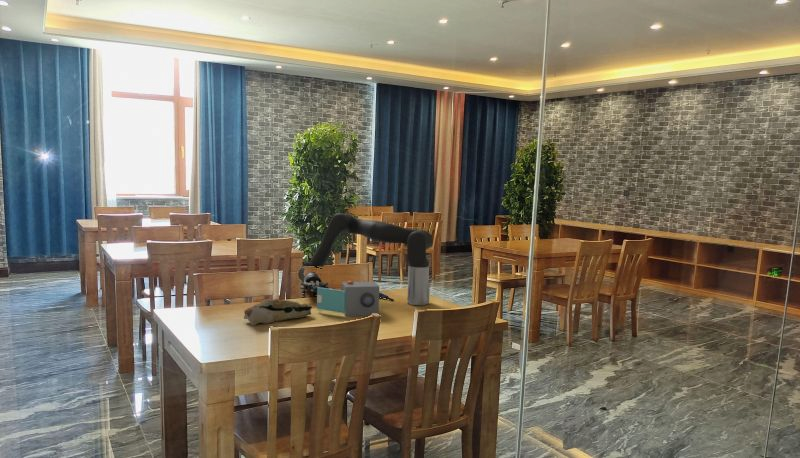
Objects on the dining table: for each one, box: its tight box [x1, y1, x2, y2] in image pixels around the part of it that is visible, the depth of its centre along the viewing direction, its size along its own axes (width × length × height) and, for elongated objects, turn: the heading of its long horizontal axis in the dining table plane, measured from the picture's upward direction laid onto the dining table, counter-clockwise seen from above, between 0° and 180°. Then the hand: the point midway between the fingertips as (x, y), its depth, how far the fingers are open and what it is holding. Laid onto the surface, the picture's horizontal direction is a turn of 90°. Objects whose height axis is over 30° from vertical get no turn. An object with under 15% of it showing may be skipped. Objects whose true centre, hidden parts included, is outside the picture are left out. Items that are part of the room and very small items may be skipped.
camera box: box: [341, 280, 380, 317], centre depth 229 cm, size 14×12×13 cm
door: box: [316, 287, 345, 314], centre depth 225 cm, size 2×13×9 cm, turn 65°
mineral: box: [243, 298, 313, 326], centre depth 215 cm, size 26×9×10 cm
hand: (316, 290), depth 239 cm, fingers closed
